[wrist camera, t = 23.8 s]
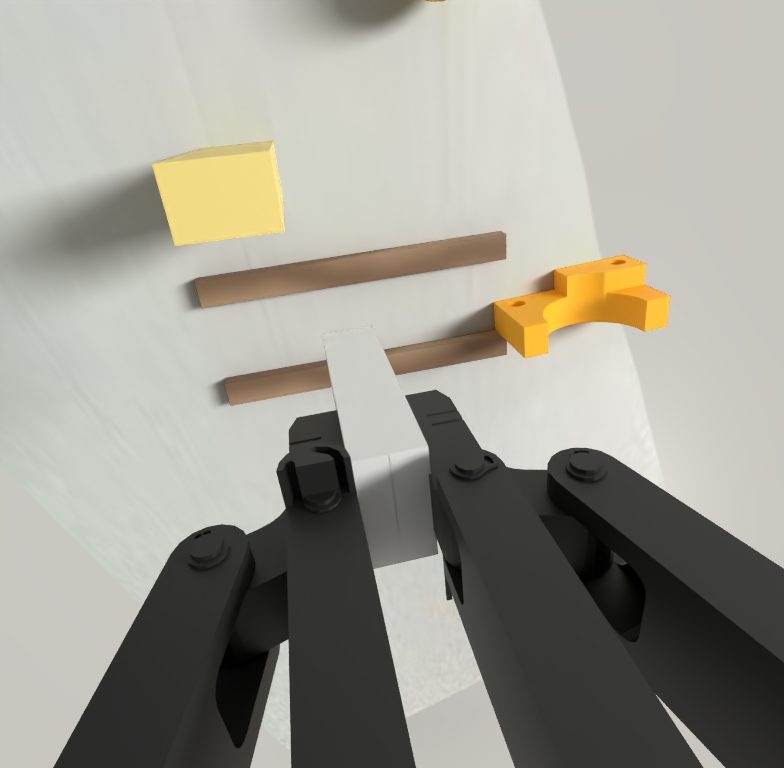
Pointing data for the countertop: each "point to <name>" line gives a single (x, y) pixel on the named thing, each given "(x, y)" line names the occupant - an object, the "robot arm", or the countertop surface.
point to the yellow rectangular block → (221, 193)
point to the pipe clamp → (582, 303)
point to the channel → (351, 272)
